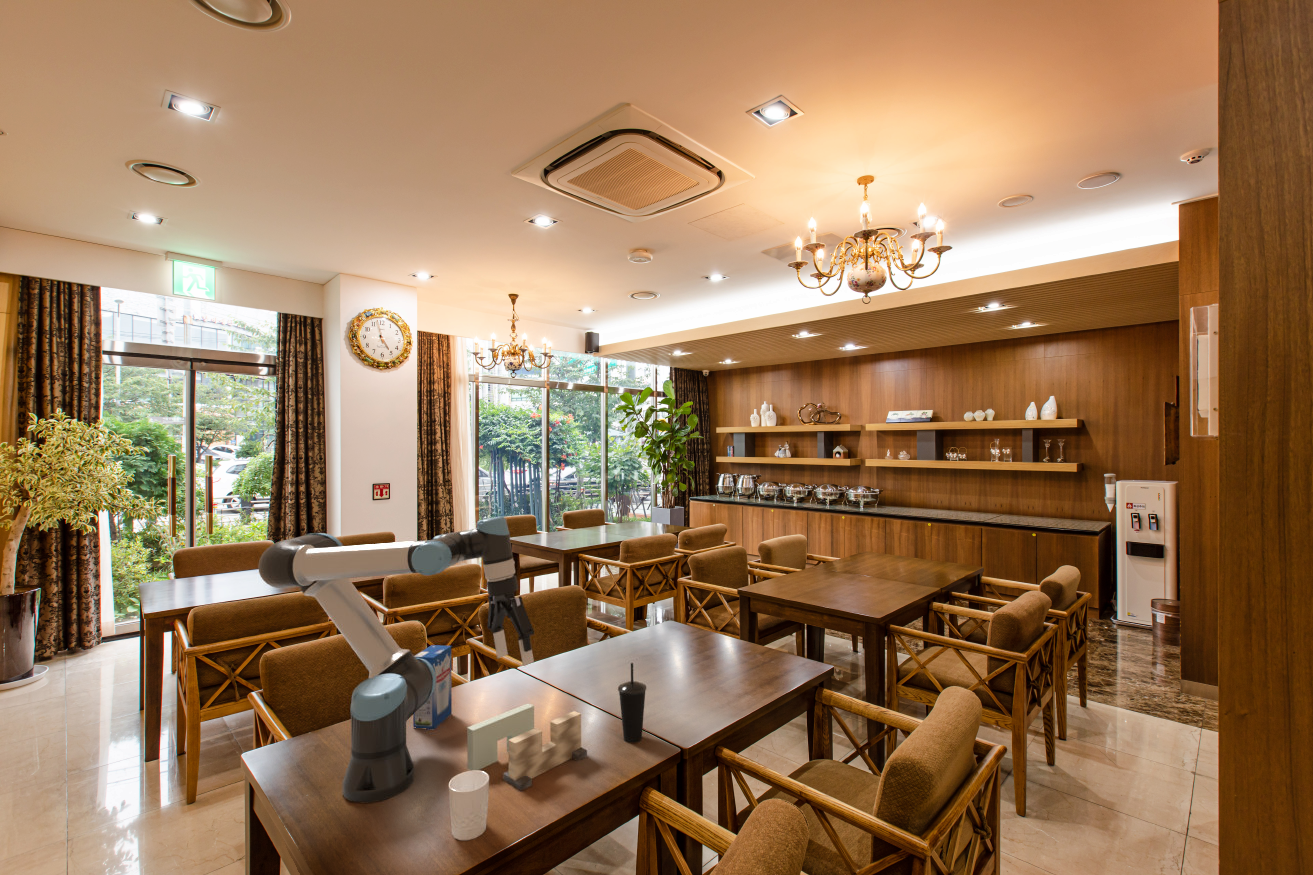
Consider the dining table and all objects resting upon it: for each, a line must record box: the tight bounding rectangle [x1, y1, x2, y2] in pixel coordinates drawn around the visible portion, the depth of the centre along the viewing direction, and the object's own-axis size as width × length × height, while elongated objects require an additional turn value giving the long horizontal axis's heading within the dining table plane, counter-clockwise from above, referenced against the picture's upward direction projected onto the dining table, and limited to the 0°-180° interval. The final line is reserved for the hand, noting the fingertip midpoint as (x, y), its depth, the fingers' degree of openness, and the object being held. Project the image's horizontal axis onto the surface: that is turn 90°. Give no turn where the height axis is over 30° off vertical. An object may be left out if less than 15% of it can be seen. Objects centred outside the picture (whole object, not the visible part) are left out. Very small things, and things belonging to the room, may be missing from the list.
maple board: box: [502, 710, 588, 792], centre depth 143 cm, size 20×7×10 cm, turn 138°
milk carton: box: [412, 644, 453, 730], centre depth 169 cm, size 10×6×20 cm, turn 171°
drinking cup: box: [617, 662, 647, 744], centre depth 157 cm, size 8×8×20 cm
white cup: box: [448, 770, 490, 841], centre depth 120 cm, size 8×8×10 cm
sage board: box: [466, 703, 535, 771], centre depth 149 cm, size 18×2×10 cm, turn 138°
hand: (515, 659), depth 149 cm, fingers open, 13 cm apart
